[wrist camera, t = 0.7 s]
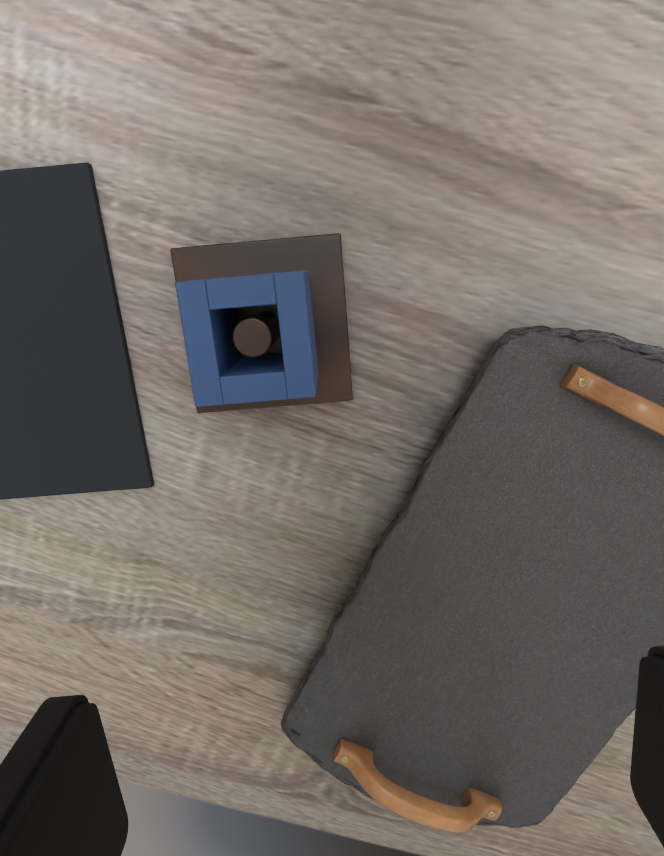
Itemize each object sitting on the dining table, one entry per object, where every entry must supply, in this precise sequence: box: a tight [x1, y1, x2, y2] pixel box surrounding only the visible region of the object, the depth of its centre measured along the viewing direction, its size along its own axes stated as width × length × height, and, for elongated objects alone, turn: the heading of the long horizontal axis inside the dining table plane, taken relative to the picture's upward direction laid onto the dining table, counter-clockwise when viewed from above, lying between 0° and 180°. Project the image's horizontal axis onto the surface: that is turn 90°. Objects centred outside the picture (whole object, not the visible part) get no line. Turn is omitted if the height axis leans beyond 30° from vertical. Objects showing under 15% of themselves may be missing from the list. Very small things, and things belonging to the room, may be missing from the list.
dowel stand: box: [171, 233, 353, 413], centre depth 29 cm, size 10×10×6 cm
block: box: [175, 271, 319, 407], centre depth 28 cm, size 6×6×7 cm
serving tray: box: [281, 326, 664, 833], centre depth 35 cm, size 39×23×6 cm, turn 154°
